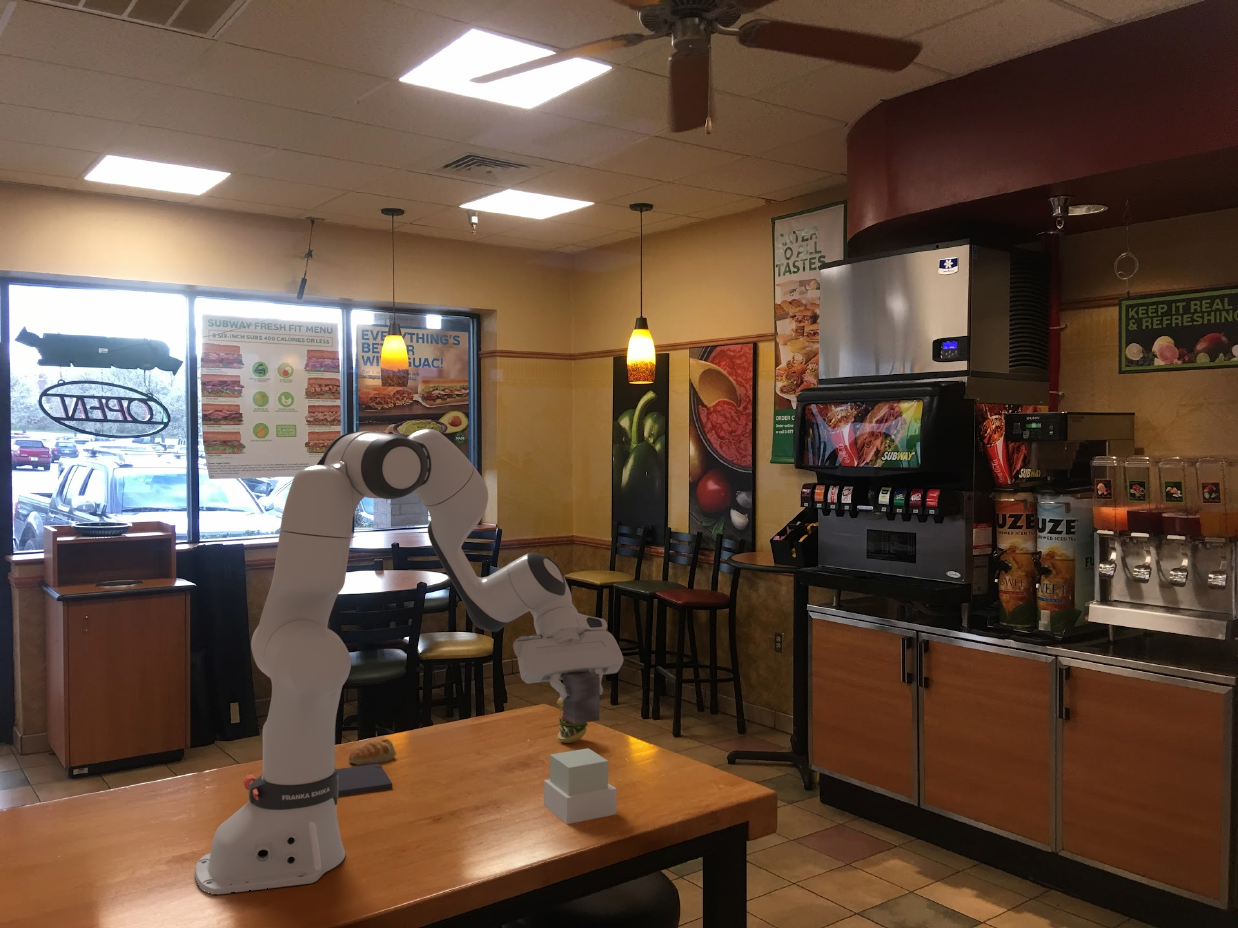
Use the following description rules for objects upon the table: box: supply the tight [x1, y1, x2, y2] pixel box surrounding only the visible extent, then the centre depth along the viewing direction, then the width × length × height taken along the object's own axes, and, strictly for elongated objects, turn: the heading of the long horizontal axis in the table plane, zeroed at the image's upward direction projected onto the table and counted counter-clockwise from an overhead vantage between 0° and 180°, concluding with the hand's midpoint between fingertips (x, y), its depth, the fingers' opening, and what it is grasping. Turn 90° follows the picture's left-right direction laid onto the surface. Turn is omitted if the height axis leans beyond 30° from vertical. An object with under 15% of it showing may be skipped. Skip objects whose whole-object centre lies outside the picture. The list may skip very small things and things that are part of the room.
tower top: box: [549, 747, 609, 795], centre depth 180 cm, size 8×8×5 cm
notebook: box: [335, 763, 393, 797], centre depth 191 cm, size 13×2×21 cm
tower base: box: [543, 778, 618, 825], centre depth 180 cm, size 10×10×5 cm
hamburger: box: [556, 696, 589, 744], centre depth 220 cm, size 8×7×12 cm
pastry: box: [348, 738, 397, 766], centre depth 207 cm, size 9×7×4 cm
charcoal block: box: [562, 671, 601, 724], centre depth 180 cm, size 5×5×8 cm
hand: (582, 695), depth 179 cm, fingers closed on charcoal block, 5 cm apart
